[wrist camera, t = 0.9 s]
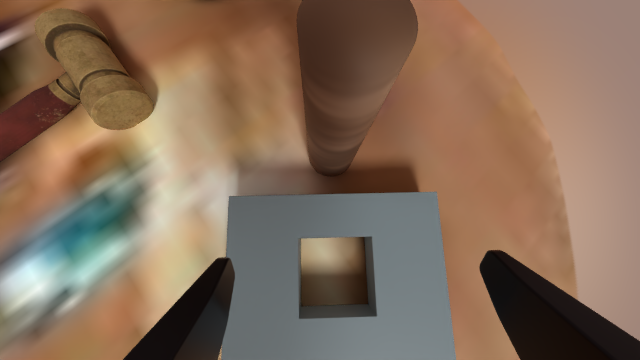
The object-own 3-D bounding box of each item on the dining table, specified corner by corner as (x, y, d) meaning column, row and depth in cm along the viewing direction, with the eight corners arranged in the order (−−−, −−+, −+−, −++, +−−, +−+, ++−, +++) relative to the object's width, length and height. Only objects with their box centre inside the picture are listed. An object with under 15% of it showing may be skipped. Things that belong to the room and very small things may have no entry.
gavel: (-118, 255, 18) (-166, 149, 19) (-28, 247, 22) (-72, 162, 24) (126, 82, 19) (65, -4, 21) (165, 108, 24) (112, 36, 25)
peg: (361, 155, 23) (442, 23, 8) (330, 185, 22) (359, 101, 8) (330, 125, 23) (355, -48, 9) (299, 154, 23) (271, 19, 8)
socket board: (436, 345, 20) (456, 365, 17) (235, 352, 20) (220, 374, 17) (420, 196, 22) (436, 191, 19) (240, 200, 22) (228, 196, 19)
